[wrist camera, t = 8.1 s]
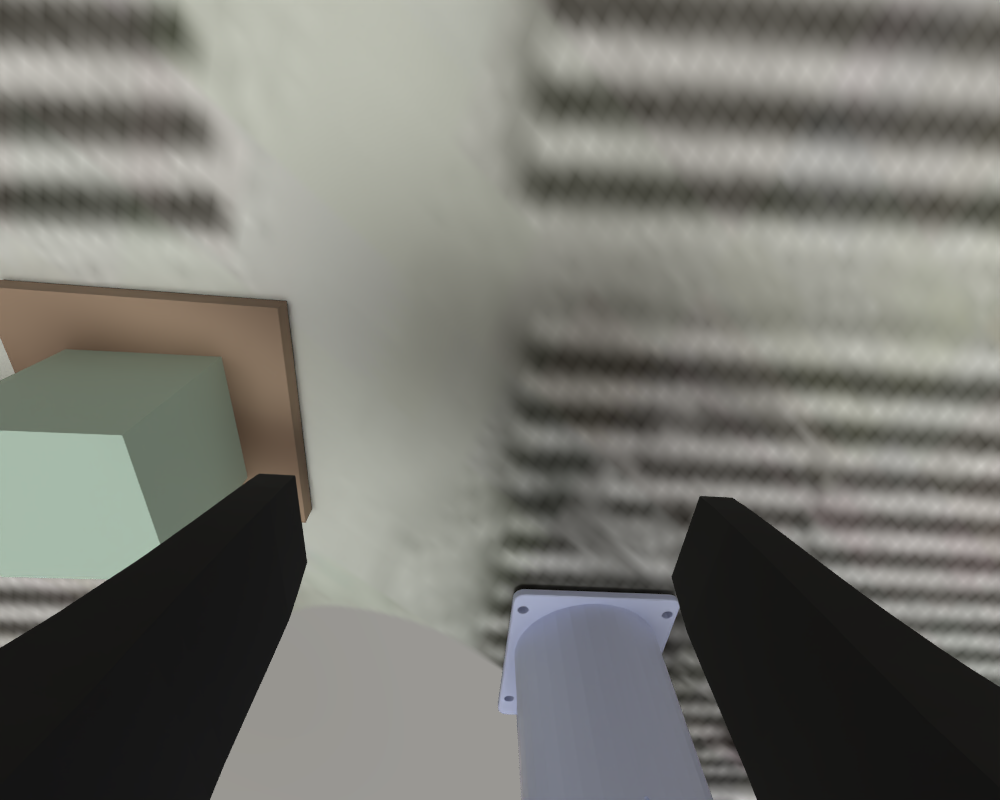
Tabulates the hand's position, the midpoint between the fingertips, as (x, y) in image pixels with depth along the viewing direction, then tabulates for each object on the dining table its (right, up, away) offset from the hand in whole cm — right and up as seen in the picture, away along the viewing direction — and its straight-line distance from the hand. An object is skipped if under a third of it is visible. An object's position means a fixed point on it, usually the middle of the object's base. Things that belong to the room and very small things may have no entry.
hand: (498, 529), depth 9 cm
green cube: (-12, +2, +8) cm, 15 cm away
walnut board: (-12, +2, +9) cm, 15 cm away
